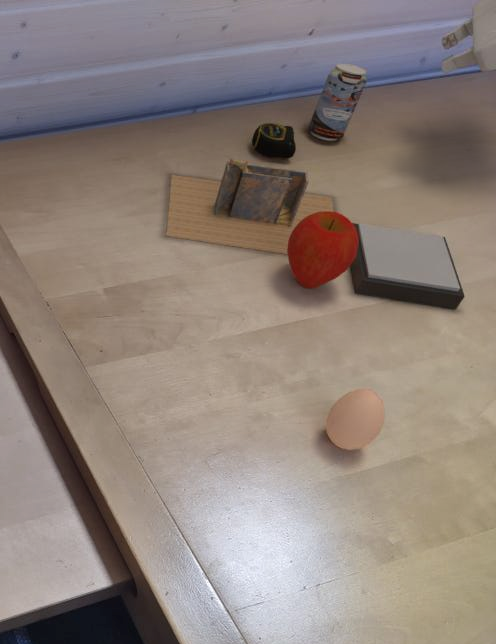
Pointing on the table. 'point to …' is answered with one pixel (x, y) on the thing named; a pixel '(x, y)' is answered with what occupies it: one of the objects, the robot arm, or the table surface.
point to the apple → (321, 248)
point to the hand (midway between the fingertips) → (442, 55)
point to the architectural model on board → (243, 207)
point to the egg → (355, 419)
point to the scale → (405, 267)
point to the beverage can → (337, 101)
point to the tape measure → (274, 141)
